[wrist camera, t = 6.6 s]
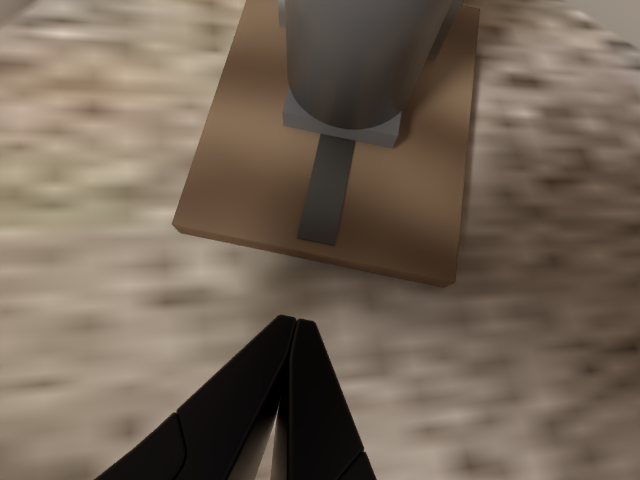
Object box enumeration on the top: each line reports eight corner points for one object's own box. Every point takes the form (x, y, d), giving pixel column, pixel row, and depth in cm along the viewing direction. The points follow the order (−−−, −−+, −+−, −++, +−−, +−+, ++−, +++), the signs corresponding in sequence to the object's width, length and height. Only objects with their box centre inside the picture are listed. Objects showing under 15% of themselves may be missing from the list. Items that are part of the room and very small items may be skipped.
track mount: (444, 287, 17) (503, 261, 12) (180, 233, 17) (132, 185, 12) (469, 27, 21) (520, -68, 16) (261, -16, 21) (250, -124, 16)
